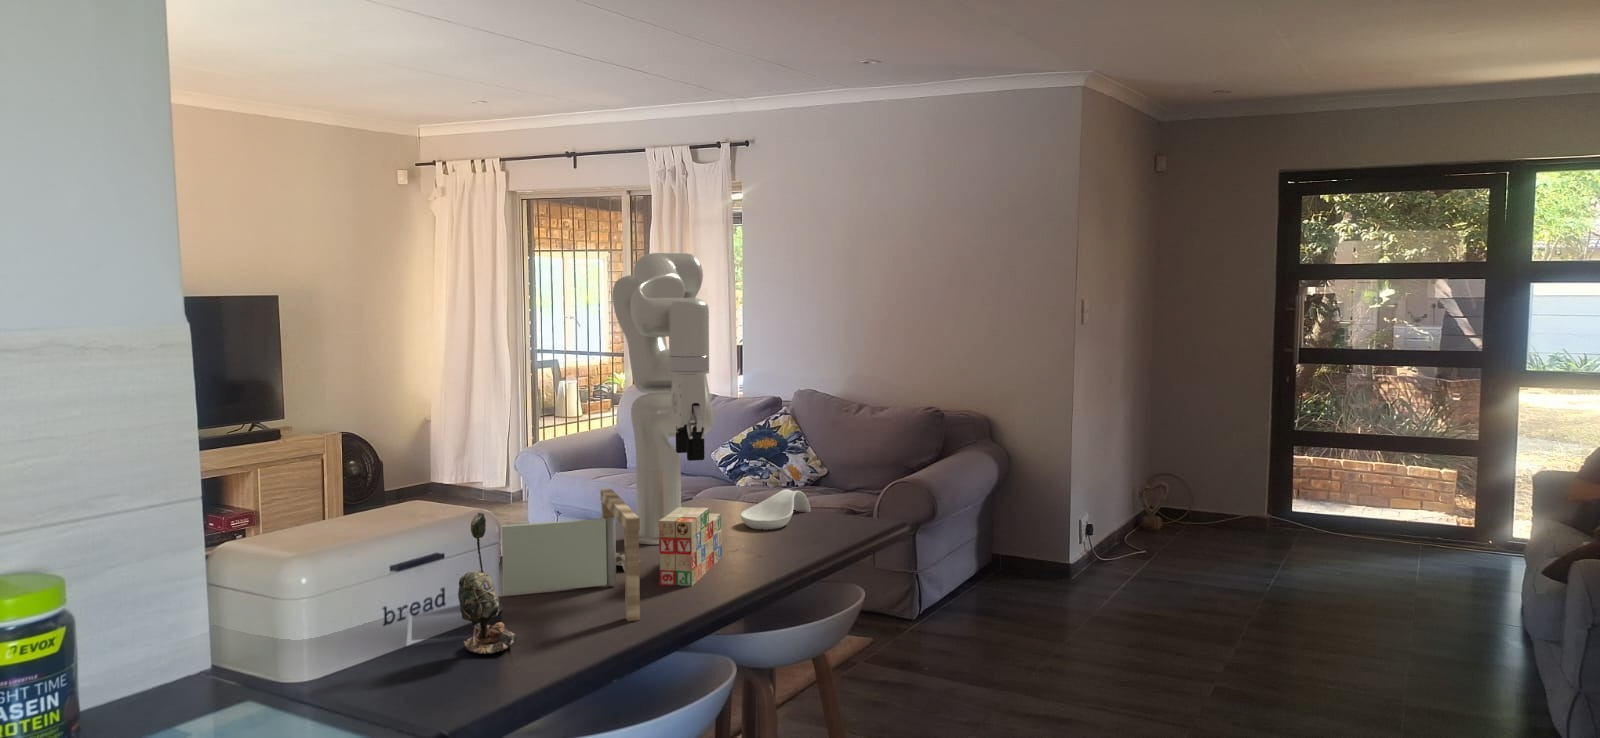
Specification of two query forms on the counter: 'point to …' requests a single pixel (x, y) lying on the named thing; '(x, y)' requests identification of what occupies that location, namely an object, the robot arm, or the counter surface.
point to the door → (558, 555)
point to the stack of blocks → (688, 545)
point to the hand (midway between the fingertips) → (689, 456)
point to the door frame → (626, 548)
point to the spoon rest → (775, 510)
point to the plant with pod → (482, 604)
